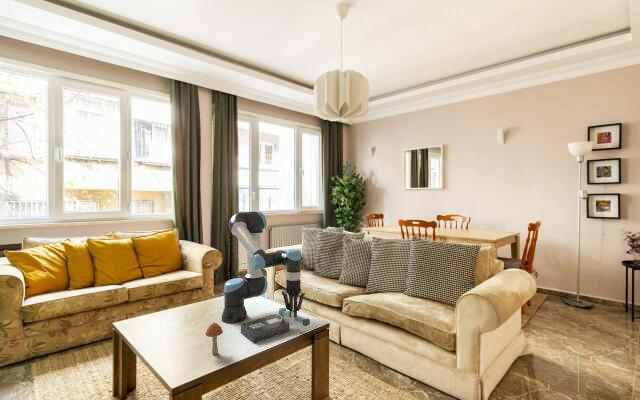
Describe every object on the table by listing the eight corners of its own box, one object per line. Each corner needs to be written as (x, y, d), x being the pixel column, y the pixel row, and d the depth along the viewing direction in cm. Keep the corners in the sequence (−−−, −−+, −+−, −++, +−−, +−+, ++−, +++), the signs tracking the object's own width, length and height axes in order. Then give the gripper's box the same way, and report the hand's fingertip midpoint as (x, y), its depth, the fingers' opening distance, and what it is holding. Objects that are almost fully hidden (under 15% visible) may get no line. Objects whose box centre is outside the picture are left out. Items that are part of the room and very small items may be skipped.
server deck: (240, 333, 178) (240, 319, 178) (277, 322, 192) (277, 309, 192) (253, 343, 166) (253, 328, 166) (291, 331, 180) (291, 317, 180)
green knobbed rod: (277, 313, 186) (277, 309, 185) (283, 312, 188) (283, 307, 188) (304, 326, 168) (304, 321, 168) (310, 324, 171) (310, 319, 171)
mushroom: (208, 349, 159) (207, 319, 159) (224, 349, 160) (224, 318, 160) (203, 358, 151) (203, 326, 151) (221, 357, 152) (220, 325, 152)
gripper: (279, 279, 171) (279, 324, 172) (302, 282, 167) (302, 327, 168) (284, 276, 178) (284, 318, 179) (307, 278, 175) (307, 321, 175)
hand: (293, 322), depth 174 cm, fingers closed
